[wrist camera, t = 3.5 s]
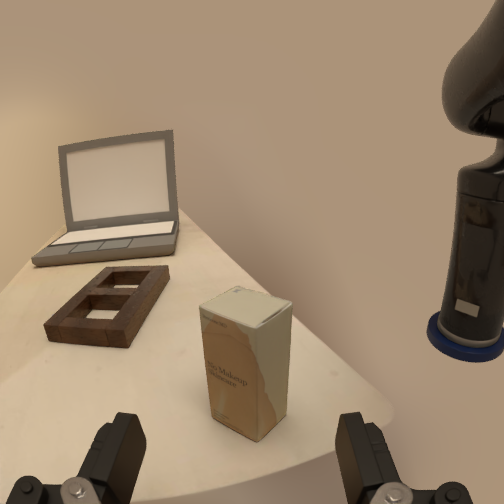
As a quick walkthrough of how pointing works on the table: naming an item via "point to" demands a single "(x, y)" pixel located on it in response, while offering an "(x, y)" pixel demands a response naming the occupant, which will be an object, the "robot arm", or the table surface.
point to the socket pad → (109, 307)
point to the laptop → (116, 200)
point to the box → (247, 359)
